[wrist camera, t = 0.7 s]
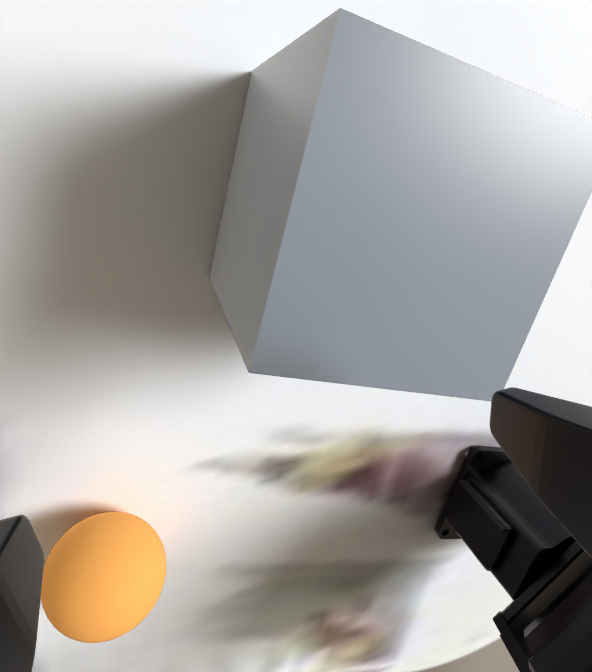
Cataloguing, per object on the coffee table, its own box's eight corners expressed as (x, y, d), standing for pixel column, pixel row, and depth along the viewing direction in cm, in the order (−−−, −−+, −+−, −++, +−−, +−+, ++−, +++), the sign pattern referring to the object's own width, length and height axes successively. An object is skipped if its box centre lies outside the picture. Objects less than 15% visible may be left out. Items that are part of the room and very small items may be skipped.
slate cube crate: (429, 134, 19) (619, 129, 11) (372, 307, 22) (497, 402, 14) (251, 71, 16) (340, 8, 9) (209, 277, 19) (248, 372, 11)
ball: (172, 489, 22) (177, 575, 18) (156, 567, 24) (157, 665, 19) (58, 486, 20) (32, 581, 16) (48, 571, 22) (22, 679, 18)
